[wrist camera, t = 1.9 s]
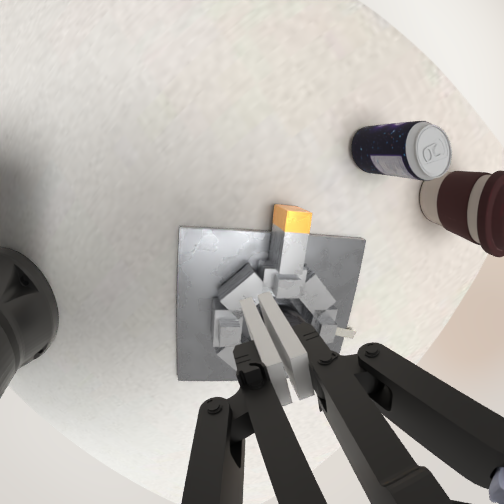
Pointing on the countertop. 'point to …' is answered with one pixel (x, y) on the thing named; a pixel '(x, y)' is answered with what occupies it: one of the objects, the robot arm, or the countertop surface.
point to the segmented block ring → (274, 285)
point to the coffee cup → (468, 206)
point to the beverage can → (403, 150)
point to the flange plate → (228, 260)
